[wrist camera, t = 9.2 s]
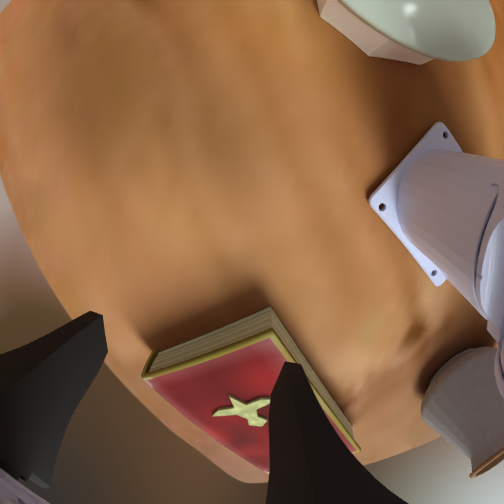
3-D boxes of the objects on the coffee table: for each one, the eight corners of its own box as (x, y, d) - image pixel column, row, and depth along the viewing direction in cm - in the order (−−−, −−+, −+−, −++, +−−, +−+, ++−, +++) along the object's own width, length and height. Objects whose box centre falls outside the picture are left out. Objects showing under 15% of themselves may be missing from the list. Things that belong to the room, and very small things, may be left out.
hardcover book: (266, 449, 29) (265, 475, 25) (153, 347, 23) (137, 380, 19) (355, 424, 26) (361, 452, 22) (272, 296, 20) (272, 333, 16)
